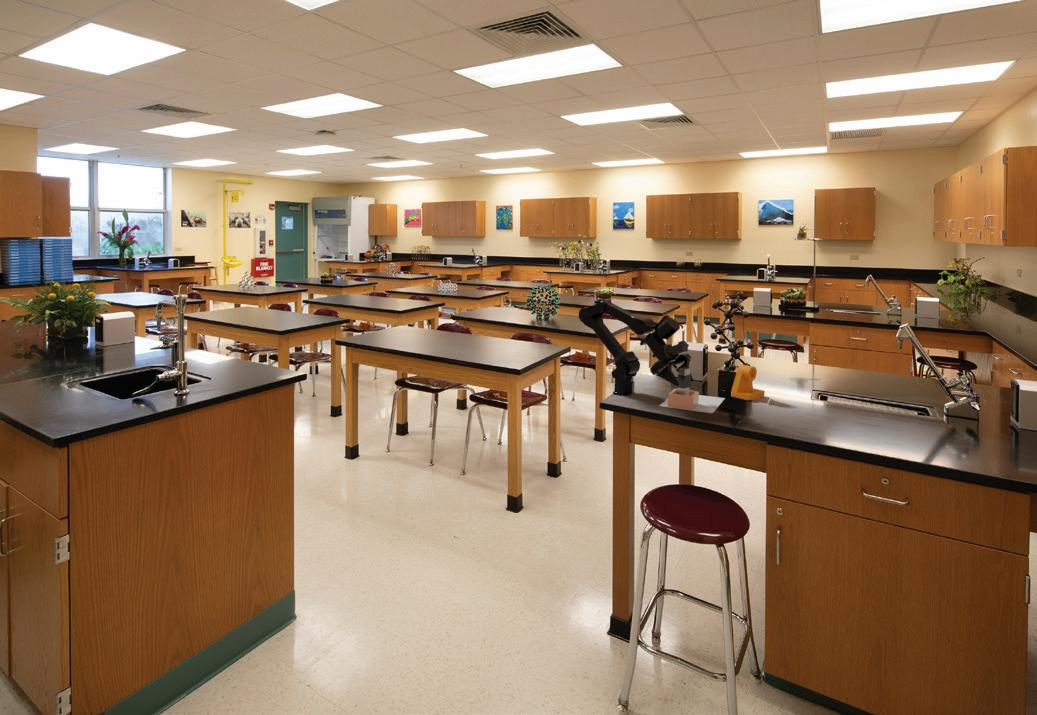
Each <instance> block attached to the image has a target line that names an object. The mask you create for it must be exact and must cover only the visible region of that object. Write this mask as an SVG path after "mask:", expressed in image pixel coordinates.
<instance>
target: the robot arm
mask: <svg viewBox="0 0 1037 715" xmlns="http://www.w3.org/2000/svg"><path fill="white" fill-rule="evenodd" d="M603 315H608V316H610V317H612V318H614V319H616V320H617V321H619V322H621V323H623V324H625V325H626V326H627V327H628V328H629V330H630V331H631V332H633V333H634V334H635V335H637V336H642V335H643V337H641V338H640V342H639V345H640V346H644V345H646V346H647V347H648V349H650V352H651V353H652V355H651V356H652V358H653V359H655V358H656V360H657V361H656V362H655V363H653V365H651V366H650V367H649V371H650V372H651V374H652V375H653V376H655V377H658V378H661V379H662V380H665V381H666V382H668V383H669V384H672V385H673V386H675V387H677V386H679V382H678V381H677V380H678V378H677V377H676V375H675V374H674V372H673V371H672V368H674V369H675V371H676V372H677V373H679V368H684V367H686V368H690V362H691V361H692V358H693V357H692V356H691V355H690V354H689V353H686V352H688V351H689V346H690V345H689V343H687V341H686V340H684V339H683V340H681V341H678V343H677V344H674V345H672V344H670V343H669V344H668V343H667V342H666V340H670V338H671V337H673V336H674V334H676V333H677V332H678V331H679V330H680V328H681V325H680V323H679V322H678V321H676V320H675V319H674V318H672V317H670V316H669V314H665V315H664V316H663V317H661V319H660V320H659V321H658V322H656V321H654V320H653V319H652V318H650V317H648V316H644V315H638V314H634V313H632V312H630V311H628V310H626V309H624V308H623V307H621V306H619V305H616V304H615V303H613V302H612V301H610V300H601V301H600V302H598V303H595V304H592V305H591V306H590V305H589V306H584V307H581V308H580V309H579V311H578V316H577V317H578V319H579V321H580V322H581V323H582V324H583V325H584V326H586V327H587V328H589V329H591V330H593V332H594V334H595V335H596V336H597V337H598V338H599V340H600V341H601V342H602V343H603V345H604V347H605V348H606V350H607V351H608V352H609V353H610V355H611V356H612V357H613V359H614V366H615V368H614V369H613V370H612V371H611V372H610V374H611V378H612V379H614V389H613V390H614V391H613V392H612V394H613V393H615V392H617V393H615V394H614V395H621V396H627V395H629V396H631V395H632V394H634V393H635V381H634V377H636V376H637V373H638V372H639V371H640V369H641V368H640V367H641V363H640V358H639V357H637V355H636V354H635V352H634V351H633V350H631V351H626V349H624V348H623V346H622V345H621V344H620V342H619V341H618V340H617V338H616V336H614V334H613V333H612V331H610V329H609V328H608V326H607V325H606V324H605V323H604V319H603ZM644 335H646V336H644ZM684 352H685V353H684ZM690 375H691V383H692V382H693V381H694V379H693V375H692V372H691V371H690ZM633 392H634V393H633ZM630 394H631V395H630Z"/></svg>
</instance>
